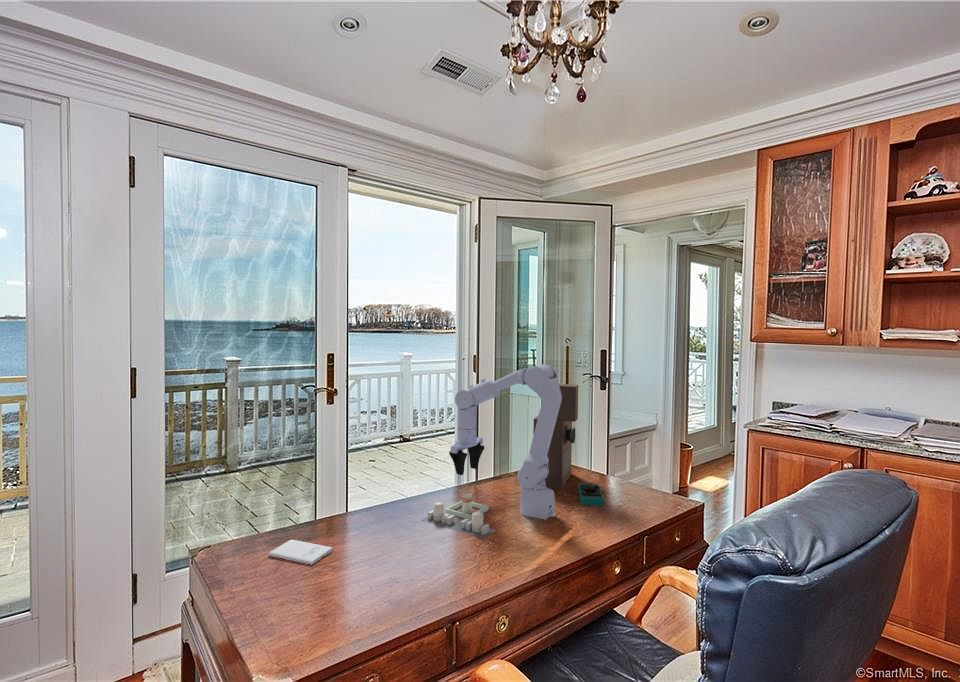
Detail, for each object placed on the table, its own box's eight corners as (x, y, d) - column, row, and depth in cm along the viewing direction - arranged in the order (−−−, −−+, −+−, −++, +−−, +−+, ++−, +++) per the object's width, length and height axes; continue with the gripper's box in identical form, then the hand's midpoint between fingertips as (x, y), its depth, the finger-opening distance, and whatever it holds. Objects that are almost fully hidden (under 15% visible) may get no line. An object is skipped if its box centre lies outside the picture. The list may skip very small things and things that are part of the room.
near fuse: (485, 530, 135) (485, 513, 135) (479, 534, 132) (479, 516, 132) (475, 527, 137) (476, 510, 136) (469, 531, 134) (469, 514, 134)
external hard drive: (292, 545, 129) (333, 552, 125) (268, 559, 121) (311, 568, 117) (292, 538, 129) (333, 546, 125) (268, 552, 121) (311, 561, 117)
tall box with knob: (573, 491, 170) (575, 386, 169) (532, 486, 175) (533, 384, 174) (582, 475, 188) (583, 380, 187) (544, 470, 193) (545, 378, 192)
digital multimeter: (600, 492, 171) (600, 483, 171) (604, 507, 156) (604, 498, 156) (577, 490, 172) (578, 482, 172) (580, 506, 157) (580, 497, 157)
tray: (488, 514, 149) (488, 506, 149) (471, 524, 142) (471, 515, 142) (463, 507, 154) (463, 499, 154) (445, 517, 147) (445, 508, 147)
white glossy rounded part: (446, 519, 142) (446, 503, 142) (439, 522, 140) (439, 506, 139) (437, 516, 144) (437, 501, 144) (430, 520, 141) (431, 504, 141)
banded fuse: (474, 513, 148) (474, 494, 148) (467, 516, 146) (468, 497, 146) (465, 510, 150) (466, 492, 150) (459, 513, 148) (459, 495, 147)
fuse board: (496, 534, 135) (496, 523, 135) (484, 542, 130) (484, 531, 130) (434, 517, 146) (434, 507, 146) (420, 524, 141) (420, 513, 141)
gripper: (469, 422, 166) (469, 463, 166) (442, 430, 154) (442, 474, 154) (488, 425, 162) (487, 467, 162) (461, 433, 150) (461, 478, 150)
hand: (467, 471), depth 158 cm, fingers open, 7 cm apart
